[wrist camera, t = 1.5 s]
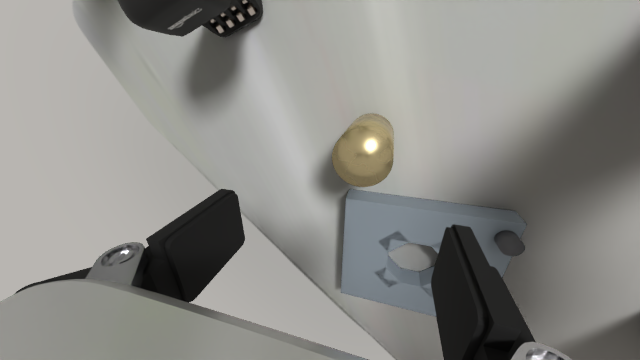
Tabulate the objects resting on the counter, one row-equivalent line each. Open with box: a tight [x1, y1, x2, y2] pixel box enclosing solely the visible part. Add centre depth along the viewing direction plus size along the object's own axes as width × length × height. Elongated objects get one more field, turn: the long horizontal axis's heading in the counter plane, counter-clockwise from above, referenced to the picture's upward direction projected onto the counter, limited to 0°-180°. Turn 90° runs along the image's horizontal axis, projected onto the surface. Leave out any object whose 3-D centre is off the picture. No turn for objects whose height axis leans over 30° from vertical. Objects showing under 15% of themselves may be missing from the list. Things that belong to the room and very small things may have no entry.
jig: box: [341, 189, 527, 317], centre depth 29 cm, size 18×16×4 cm
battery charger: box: [118, 0, 263, 37], centre depth 20 cm, size 7×4×11 cm, turn 109°
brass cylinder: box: [332, 114, 394, 187], centre depth 22 cm, size 5×5×8 cm
